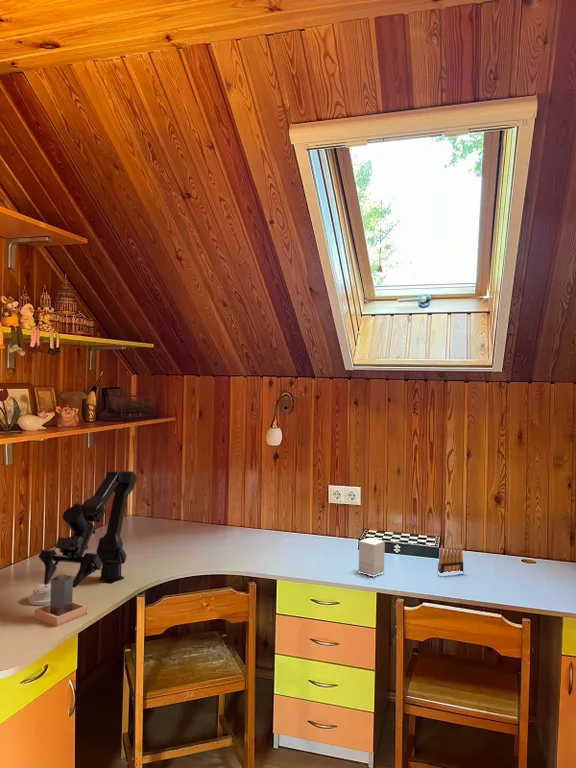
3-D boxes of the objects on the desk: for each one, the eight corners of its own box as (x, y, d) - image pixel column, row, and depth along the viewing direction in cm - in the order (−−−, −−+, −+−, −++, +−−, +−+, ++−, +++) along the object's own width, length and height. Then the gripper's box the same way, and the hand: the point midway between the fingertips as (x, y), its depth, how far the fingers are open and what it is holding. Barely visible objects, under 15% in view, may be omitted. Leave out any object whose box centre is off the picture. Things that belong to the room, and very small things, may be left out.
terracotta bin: (64, 606, 176) (65, 598, 176) (87, 614, 170) (87, 606, 170) (34, 617, 167) (34, 609, 167) (56, 626, 161) (57, 618, 161)
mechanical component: (25, 598, 182) (31, 608, 174) (25, 584, 182) (32, 594, 174) (57, 592, 188) (65, 602, 179) (58, 579, 188) (65, 588, 179)
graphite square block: (58, 610, 171) (59, 574, 171) (71, 611, 170) (73, 575, 170) (49, 616, 167) (51, 579, 167) (63, 617, 166) (64, 580, 166)
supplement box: (384, 573, 216) (385, 541, 216) (373, 578, 210) (374, 544, 210) (369, 568, 221) (370, 537, 221) (357, 573, 216) (358, 540, 215)
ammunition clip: (460, 573, 219) (461, 542, 219) (463, 574, 217) (464, 544, 217) (437, 575, 216) (438, 544, 215) (440, 577, 214) (441, 545, 214)
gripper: (42, 523, 174) (19, 570, 163) (98, 527, 171) (78, 575, 160) (56, 541, 182) (35, 587, 171) (110, 546, 179) (91, 593, 168)
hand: (59, 585), depth 167 cm, fingers open, 9 cm apart
